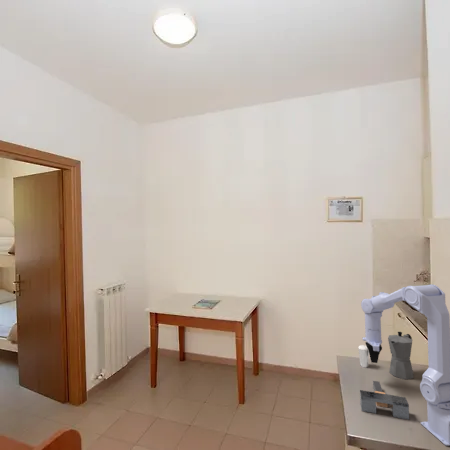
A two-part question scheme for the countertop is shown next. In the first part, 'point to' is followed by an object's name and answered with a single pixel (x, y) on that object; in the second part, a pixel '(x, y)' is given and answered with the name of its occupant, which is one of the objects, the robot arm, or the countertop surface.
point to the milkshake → (363, 355)
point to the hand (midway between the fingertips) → (374, 362)
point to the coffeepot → (401, 355)
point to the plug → (378, 389)
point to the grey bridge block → (397, 403)
